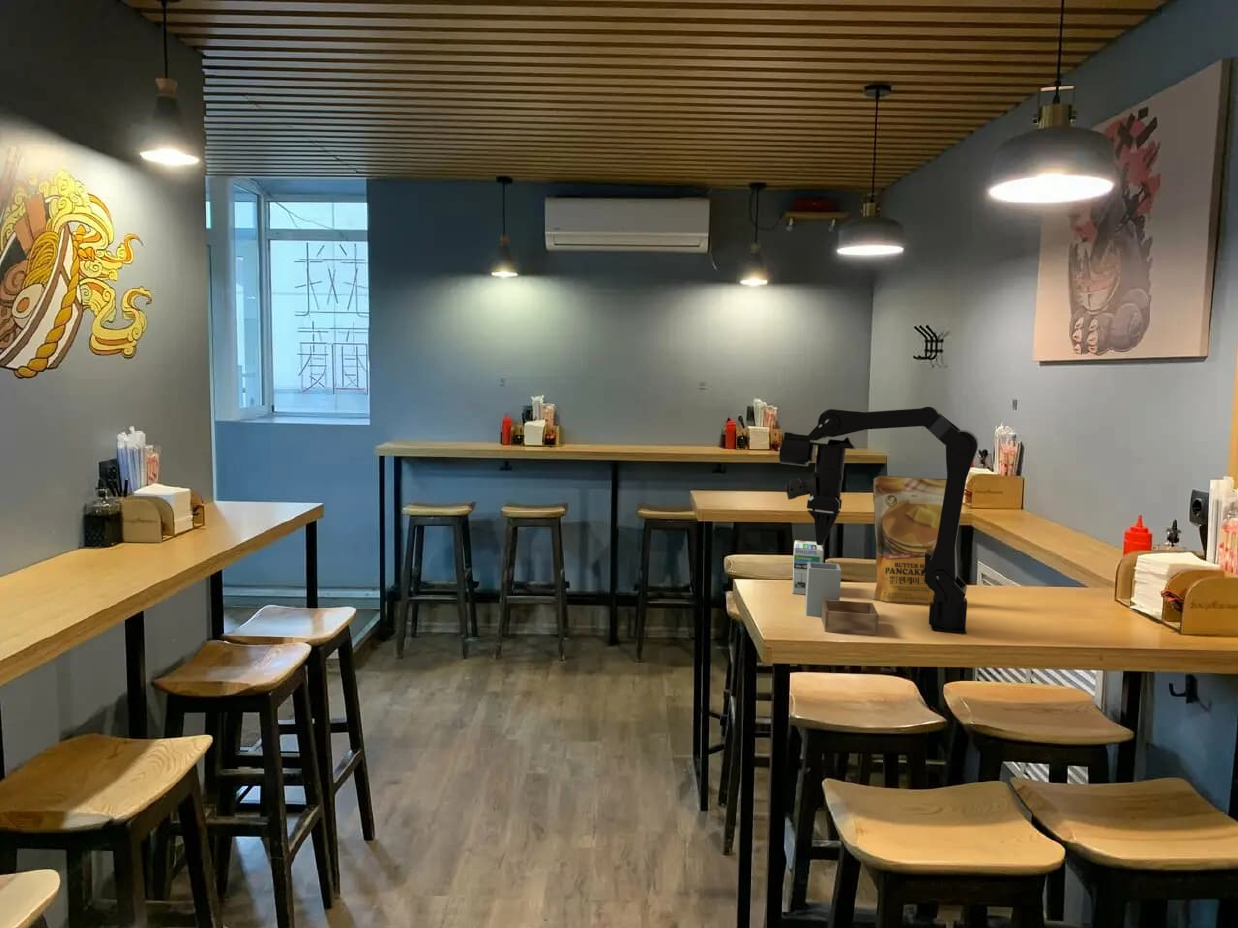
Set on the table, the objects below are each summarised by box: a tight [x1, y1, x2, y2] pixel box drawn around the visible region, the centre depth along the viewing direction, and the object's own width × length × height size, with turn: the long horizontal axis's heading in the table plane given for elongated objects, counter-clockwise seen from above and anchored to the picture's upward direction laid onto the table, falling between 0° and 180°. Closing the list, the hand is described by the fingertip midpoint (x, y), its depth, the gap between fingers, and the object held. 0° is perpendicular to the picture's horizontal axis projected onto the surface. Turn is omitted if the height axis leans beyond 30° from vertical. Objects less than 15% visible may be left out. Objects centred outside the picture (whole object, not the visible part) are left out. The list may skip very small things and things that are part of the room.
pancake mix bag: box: [872, 475, 947, 606], centre depth 200 cm, size 7×19×28 cm, turn 84°
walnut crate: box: [821, 599, 879, 637], centre depth 178 cm, size 10×10×4 cm
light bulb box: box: [791, 539, 824, 595], centre depth 209 cm, size 11×7×11 cm, turn 168°
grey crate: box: [804, 562, 842, 618], centre depth 188 cm, size 6×6×10 cm
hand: (820, 543), depth 187 cm, fingers open, 9 cm apart
